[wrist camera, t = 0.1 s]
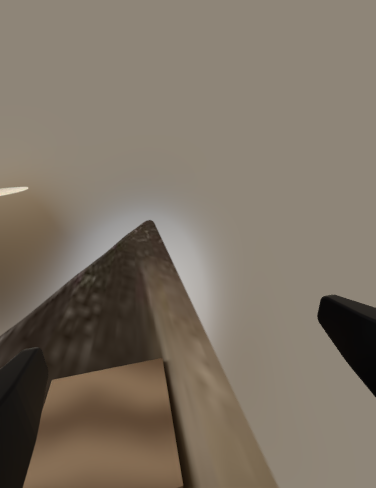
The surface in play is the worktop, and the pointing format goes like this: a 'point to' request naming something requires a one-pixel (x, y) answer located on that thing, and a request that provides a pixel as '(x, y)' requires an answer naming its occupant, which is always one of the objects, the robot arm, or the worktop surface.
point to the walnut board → (107, 432)
